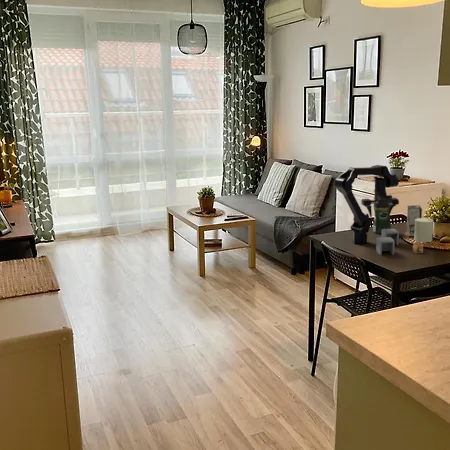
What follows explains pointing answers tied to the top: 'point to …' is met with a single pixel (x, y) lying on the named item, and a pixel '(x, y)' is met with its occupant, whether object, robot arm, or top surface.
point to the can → (423, 230)
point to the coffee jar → (381, 218)
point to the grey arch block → (391, 234)
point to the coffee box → (412, 218)
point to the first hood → (385, 245)
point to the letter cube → (418, 248)
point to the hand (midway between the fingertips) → (379, 217)
